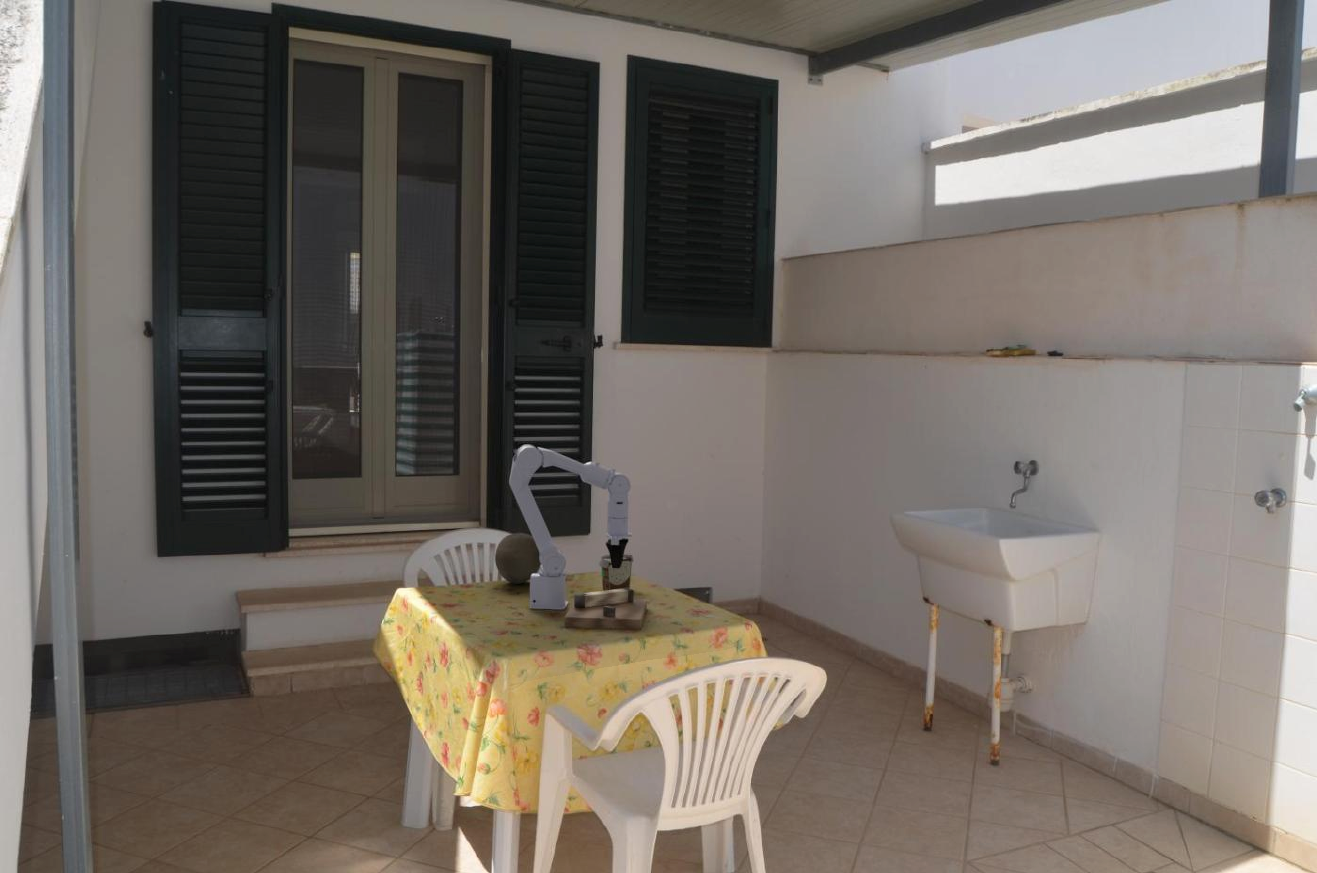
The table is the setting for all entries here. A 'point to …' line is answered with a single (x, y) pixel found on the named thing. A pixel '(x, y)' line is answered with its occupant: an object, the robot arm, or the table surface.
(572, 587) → the table surface
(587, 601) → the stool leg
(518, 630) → the table surface
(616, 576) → the food container
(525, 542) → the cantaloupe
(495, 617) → the table surface
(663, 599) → the table surface
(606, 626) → the stool seat
